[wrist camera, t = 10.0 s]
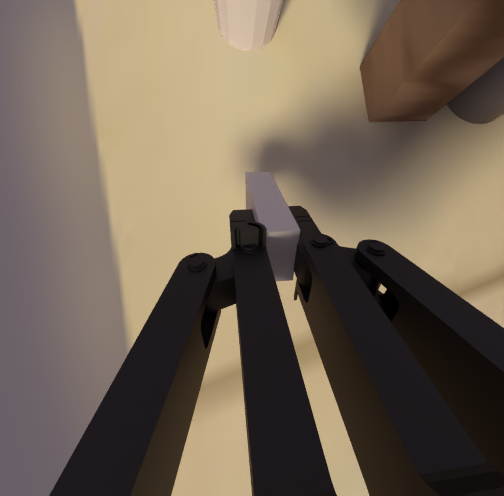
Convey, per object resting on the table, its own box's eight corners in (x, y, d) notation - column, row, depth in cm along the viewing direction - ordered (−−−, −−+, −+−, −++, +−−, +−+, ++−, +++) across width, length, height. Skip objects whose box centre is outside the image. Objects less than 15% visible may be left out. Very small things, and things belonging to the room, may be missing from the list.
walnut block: (414, 67, 24) (545, -84, 14) (425, 120, 23) (571, 1, 13) (359, 66, 23) (455, -91, 13) (369, 122, 22) (478, -2, 13)
